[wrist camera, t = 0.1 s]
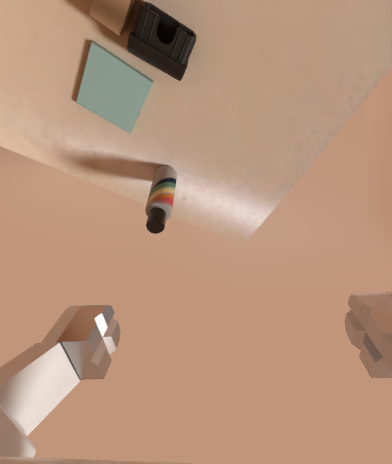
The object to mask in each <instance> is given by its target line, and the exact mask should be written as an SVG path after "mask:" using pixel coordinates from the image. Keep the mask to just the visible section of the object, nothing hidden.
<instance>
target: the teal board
mask: <svg viewBox="0 0 392 464" xmlns="http://www.w3.org/2000/svg"><path fill="white" fill-rule="evenodd" d="M152 84H153V80H151V79H150V78H148V77H147V76H145V75H144V74H142V73H141V72H139V71H138V70H136V69H135V68H133V67H132V66H130V65H129V64H127V63H126V62H124V61H123V60H121V59H120V58H118V57H117V56H115V55H114V54H112V53H111V52H109V51H108V50H106V49H105V48H103V47H102V46H100V45H99V44H97V43H96V42H94V41H93V42H92V43H91V47H90V51H89V54H88V58H87V62H86V66H85V70H84V74H83V78H82V82H81V86H80V89H79V93H78V97H77V101H76V103H77V104H79V105H81V106H83V107H85V108H86V109H88V110H90V111H92V112H93V113H95V114H97V115H99V116H101V117H102V118H104V119H106V120H108V121H109V122H111V123H113V124H115V125H117V126H118V127H120V128H122V129H124V130H125V131H127V132H129V133H131V131H132V129H133V126H134V124H135V122H136V120H137V117H138V115H139V113H140V111H141V108H142V106H143V104H144V102H145V99H146V97H147V95H148V93H149V90H150V88H151V86H152Z"/></svg>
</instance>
